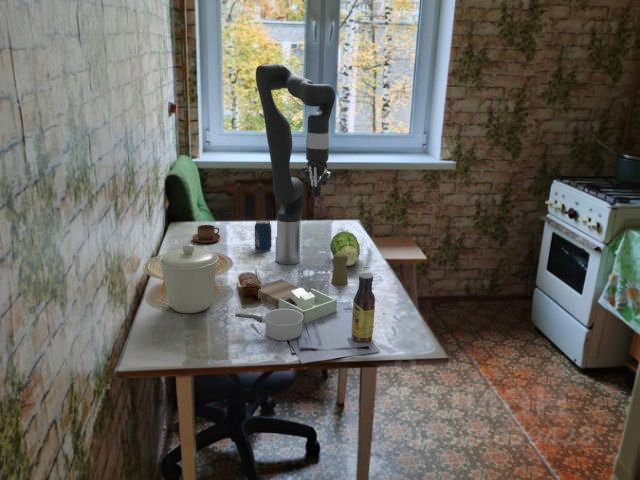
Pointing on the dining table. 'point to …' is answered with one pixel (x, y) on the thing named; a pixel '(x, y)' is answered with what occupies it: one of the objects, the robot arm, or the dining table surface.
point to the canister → (189, 278)
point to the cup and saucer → (206, 234)
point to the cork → (340, 270)
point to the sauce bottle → (363, 309)
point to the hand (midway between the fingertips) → (316, 196)
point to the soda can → (263, 235)
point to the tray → (320, 307)
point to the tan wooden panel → (277, 292)
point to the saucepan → (280, 323)
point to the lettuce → (346, 246)
